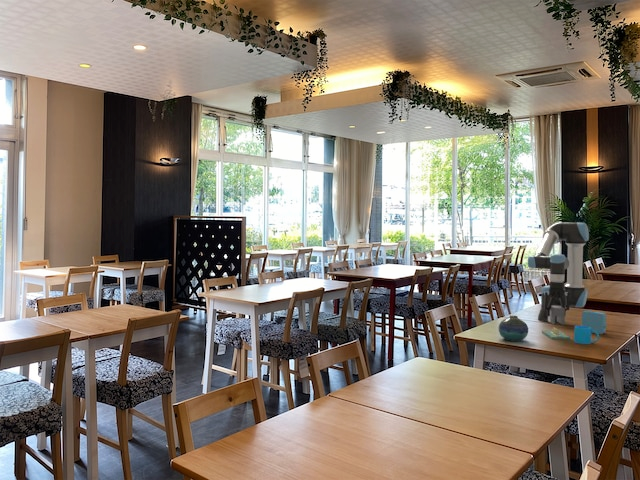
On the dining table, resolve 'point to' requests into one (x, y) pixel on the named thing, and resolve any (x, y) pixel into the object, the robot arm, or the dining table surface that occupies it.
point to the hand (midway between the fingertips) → (555, 321)
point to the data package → (594, 321)
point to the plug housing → (557, 314)
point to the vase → (513, 329)
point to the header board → (548, 333)
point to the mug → (584, 335)
